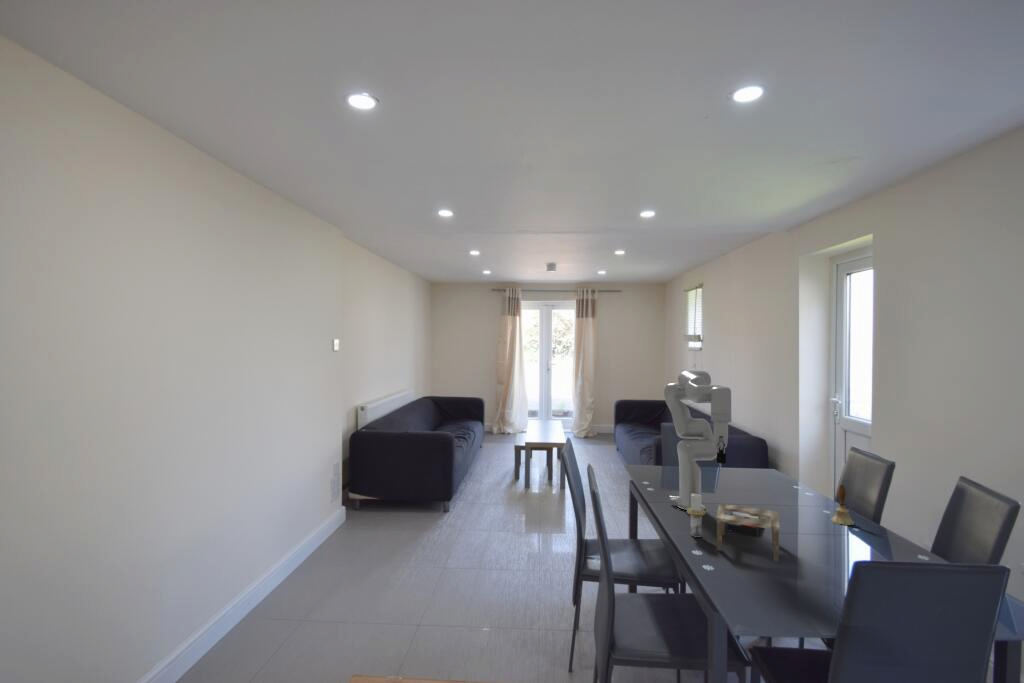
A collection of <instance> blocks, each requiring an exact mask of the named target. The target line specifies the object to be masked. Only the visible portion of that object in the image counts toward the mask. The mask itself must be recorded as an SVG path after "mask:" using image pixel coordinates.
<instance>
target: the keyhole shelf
mask: <svg viewBox="0 0 1024 683" xmlns="http://www.w3.org/2000/svg"><path fill="white" fill-rule="evenodd" d="M726 511H728V512H731V513H732V512H739V513H745V514H750V516H756V517H760V519H759V518H753V517H750V518H743V517H736V516H730V515H731V514H730V515H729V514H725V513H726ZM715 518H716V540H717V541H716V551H717V550H722V551H723V536H722V535H724V536H725V523H728V522H730V523H736V524H742V525H749V526H755V527H760V528H761V529H762V528H763V529H766V530H767V529H769V530H771V544H772V545H773V544H774V545H773V562H776V563H779V561H780V557H779V556H780V541H779V540H780V538H779V537H780V536H779V535H780V533H779V531H780V527H781V526H780V523H779V522H780V521H779V514H778V511H777V510H776V511H775V510H768V509H761V508H760V509H759V508H754V507H748V506H741V505H733V504H727V503H720V502H719V503H718V508H717V512H716V517H715Z"/></svg>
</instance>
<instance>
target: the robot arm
mask: <svg viewBox="0 0 1024 683" xmlns="http://www.w3.org/2000/svg"><path fill="white" fill-rule="evenodd" d="M663 395H664V400H665V404H666V405H667V407H668V409H669V411H670V414H671V417H672V422H673V425H674V428H675V432H676V435H677V437H678V438H681V439H682V440H680V441H679V442H678V443H677V445H676V449H677V451H676V452H677V456H678V471H679V472H678V476H679V482H678V483H679V484H678V486H679V490H678V491H679V492H678V493H679V495H676V496H674V495H669V500H670V501H671V502H676V503H678V505H680V507H681V508H682V507H683V509H686V510H687V508H691V494H692V493H694V494H701V495H702V470H701V467H700V466H699V465H698V463H697V462H696V461H713V460H715V459H716V463H717V464H726V463H727V462H726V461H727V457H726V456H727V453H726V452H727V450H726V448H727V447H728V441H729V440H728V439H729V423H732V390H731V388H730V387H727V386H724V385H719V384H712V378H711V375H710V374H709V372H708V371H704V370H685V371H682V372H680V373H679V374H678V376H677V382H672V383H668V384H666V385H665V387H664V391H663ZM681 400H682V401H684V400H685V401H691V402H693V403H696V404H710V421H711V422H713V429H712V427H711V424H710V423H709V421H708V420H707V419H705V418H693V417H692V415H691V412H690V409H689V407H688V406H687V405H686V404H685V403H684V402H682V401H681ZM712 430H713V431H712ZM701 509H703V510H704V509H706V507H705V505H704V504H702V503H701Z"/></svg>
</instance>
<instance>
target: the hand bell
mask: <svg viewBox="0 0 1024 683" xmlns="http://www.w3.org/2000/svg"><path fill="white" fill-rule="evenodd" d="M837 493H838V498H839V507H837V508H836V509H835V513H834V516H833V517H832V518H831V519H830V521H831V522H832V523H834V524H836V523H837V525H840V524H842V525H841V526H845V525H853V524H854V523H855V522H854V521H853V520H852V518H851V516H850V511H849V509H847V508H846V506H845V500H846V499H845V498H846V495H847V494H846V488H845V486H844V484H842V483H841V484H839V486H838V489H837ZM853 526H854V525H853Z"/></svg>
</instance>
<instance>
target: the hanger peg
mask: <svg viewBox="0 0 1024 683" xmlns="http://www.w3.org/2000/svg"><path fill="white" fill-rule="evenodd" d="M701 504H702V493H701V494H694V493H692V494H691V508H687V511H686V513H687V514H688V515H690V535H691V534H692V535H694V536H702V534H703V533H702V532H703V529H702V528H703V527H702V524H703V522H702V520H703V519H702V518H703V517H704V516H706V515H707V514H706V510H703V509H701Z"/></svg>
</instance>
